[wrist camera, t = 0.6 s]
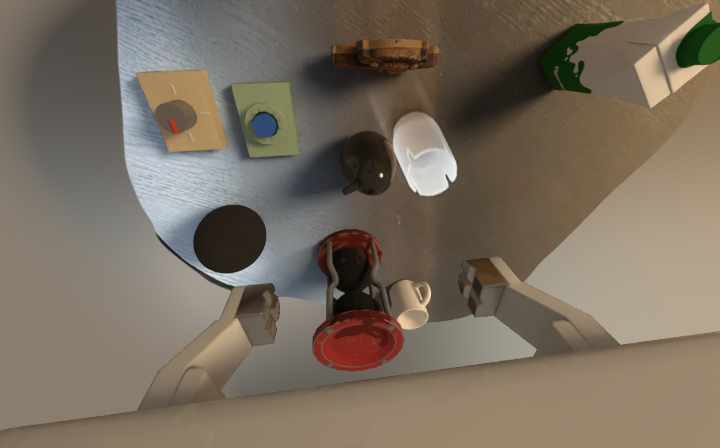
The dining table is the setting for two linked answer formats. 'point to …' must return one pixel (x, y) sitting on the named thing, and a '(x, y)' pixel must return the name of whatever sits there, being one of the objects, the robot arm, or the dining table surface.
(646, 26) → the milk carton
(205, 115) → the dial panel
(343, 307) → the hourglass
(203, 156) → the dining table surface
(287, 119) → the button housing
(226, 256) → the decorative egg
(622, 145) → the dining table surface
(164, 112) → the dial
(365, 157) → the pump dispenser
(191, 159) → the dining table surface
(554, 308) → the robot arm
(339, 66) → the wooden carving
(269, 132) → the button
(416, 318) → the mug
